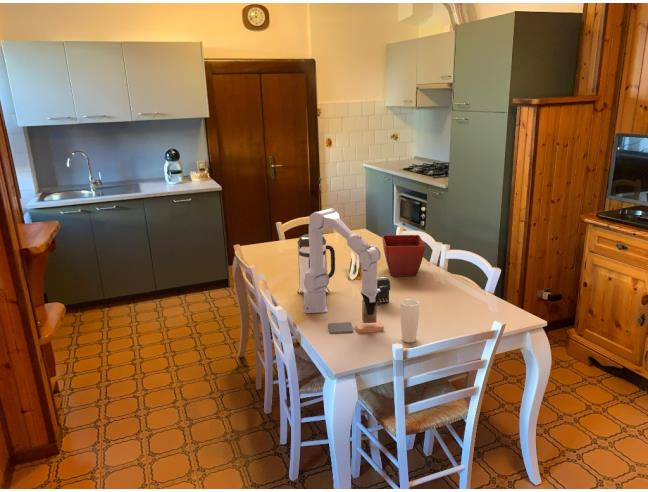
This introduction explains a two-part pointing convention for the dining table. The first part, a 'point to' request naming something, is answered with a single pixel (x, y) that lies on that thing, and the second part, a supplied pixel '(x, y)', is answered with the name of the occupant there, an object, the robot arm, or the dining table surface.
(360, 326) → the tile
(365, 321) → the brown rectangular block
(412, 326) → the drinking glass
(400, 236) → the plant pot
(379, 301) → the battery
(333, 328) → the mat
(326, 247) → the coffee press
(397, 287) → the dining table surface
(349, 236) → the robot arm
